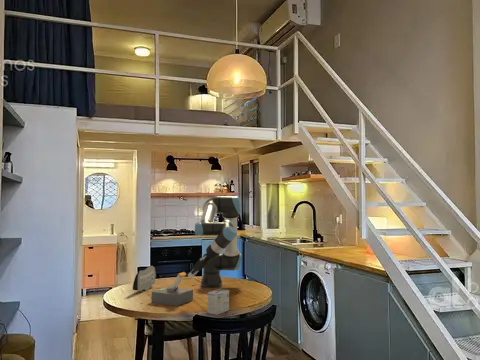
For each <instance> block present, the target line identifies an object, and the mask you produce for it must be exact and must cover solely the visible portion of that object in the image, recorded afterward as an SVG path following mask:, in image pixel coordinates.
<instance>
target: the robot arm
mask: <svg viewBox="0 0 480 360" xmlns="http://www.w3.org/2000/svg"><path fill="white" fill-rule="evenodd" d="M216 214H221V216H222V218H223V220H222V222H214V220H215V215H216ZM241 214H242V205H241V199H240V197H239V196H236V195H235V196H234V195H226V196H225V195H224V196H223V195H220V196H219V195H216V196H212V197H210V198H209V199H207V200H206V201H205V202H204V203H203V205H202V215H201V218H200V221H199V222H196V223H195V224H194V234H195V236H200V237H201V236H202V237H203V236H205V237H206V236H207V237H210V236H216V238H215V239H213V241H212V242H211V243H210V244H209V245H208V246H207V247H206V249H205V253H203V256H200V257H198V258H199V259H198V260H197V261H196V263H195V264H194V265H193V266H192V268H193V269H192V270H191V271H190V272H189V273H188V274H187V276H188V278H189V279H193V278H194V277H196V275H197V274H198V272H203V273H202V276H201V280H200V287H202V288H220V287H222V286H223V281H222V276H221V271H239V270H240V269H241V263H242V257H243V256H242V253H241V252H240V250H239V249H238V219H239V217H240V215H241ZM202 270H203V271H202Z"/></svg>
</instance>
